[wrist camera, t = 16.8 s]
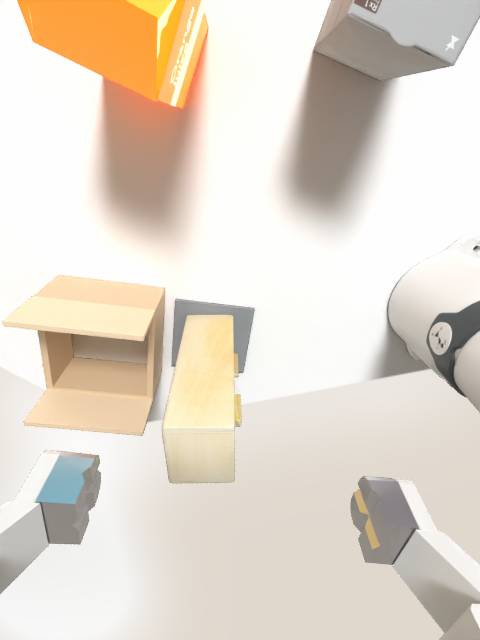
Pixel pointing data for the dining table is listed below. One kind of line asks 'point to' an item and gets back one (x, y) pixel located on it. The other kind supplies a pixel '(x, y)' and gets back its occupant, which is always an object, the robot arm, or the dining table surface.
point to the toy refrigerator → (203, 404)
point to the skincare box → (397, 34)
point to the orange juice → (125, 40)
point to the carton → (92, 374)
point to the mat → (240, 314)
